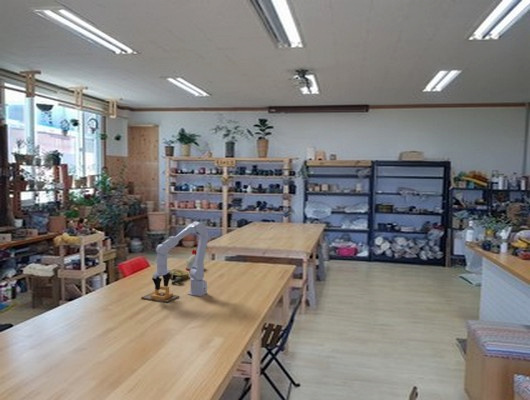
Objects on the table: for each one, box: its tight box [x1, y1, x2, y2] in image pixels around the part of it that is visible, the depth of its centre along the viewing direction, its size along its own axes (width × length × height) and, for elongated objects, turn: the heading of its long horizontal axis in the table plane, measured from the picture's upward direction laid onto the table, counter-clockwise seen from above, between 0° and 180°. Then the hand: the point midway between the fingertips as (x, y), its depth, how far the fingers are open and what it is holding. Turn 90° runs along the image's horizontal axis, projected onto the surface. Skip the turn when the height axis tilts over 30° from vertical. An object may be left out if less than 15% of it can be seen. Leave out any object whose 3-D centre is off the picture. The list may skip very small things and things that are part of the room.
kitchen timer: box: [185, 249, 205, 272], centre depth 313 cm, size 14×14×15 cm
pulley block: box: [170, 268, 190, 285], centre depth 280 cm, size 14×6×30 cm
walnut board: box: [140, 291, 180, 304], centre depth 236 cm, size 18×12×1 cm, turn 68°
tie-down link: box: [151, 285, 174, 300], centre depth 235 cm, size 9×9×6 cm
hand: (161, 288), depth 235 cm, fingers open, 7 cm apart
